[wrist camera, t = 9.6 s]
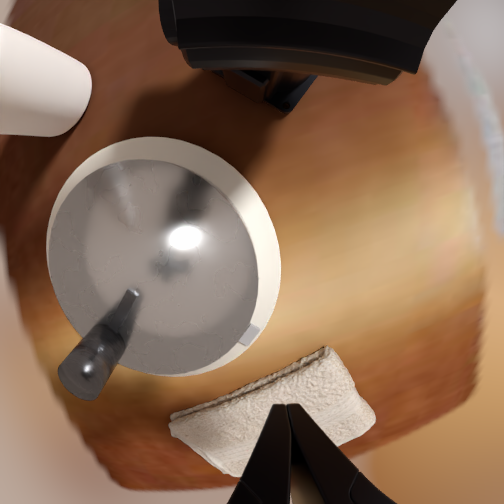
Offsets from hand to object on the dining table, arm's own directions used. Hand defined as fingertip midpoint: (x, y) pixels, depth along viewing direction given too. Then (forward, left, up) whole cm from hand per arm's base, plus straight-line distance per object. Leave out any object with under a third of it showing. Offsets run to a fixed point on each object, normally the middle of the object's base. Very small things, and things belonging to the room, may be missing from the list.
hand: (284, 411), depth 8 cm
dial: (+4, -7, -12) cm, 14 cm away
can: (-3, -21, -13) cm, 25 cm away
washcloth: (+12, +9, -14) cm, 21 cm away
